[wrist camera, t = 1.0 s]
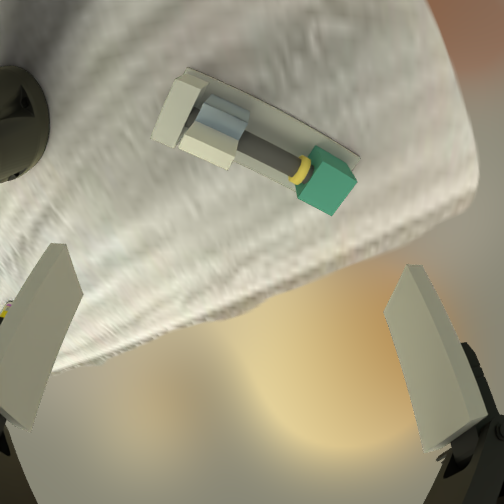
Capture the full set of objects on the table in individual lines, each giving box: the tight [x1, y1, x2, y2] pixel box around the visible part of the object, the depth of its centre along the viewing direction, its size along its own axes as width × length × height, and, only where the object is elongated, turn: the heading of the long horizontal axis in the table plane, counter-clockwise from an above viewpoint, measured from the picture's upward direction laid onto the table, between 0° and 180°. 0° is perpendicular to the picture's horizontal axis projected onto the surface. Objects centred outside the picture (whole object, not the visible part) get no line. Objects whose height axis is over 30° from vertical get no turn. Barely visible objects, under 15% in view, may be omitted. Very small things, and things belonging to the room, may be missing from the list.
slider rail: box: [150, 67, 361, 216], centre depth 29 cm, size 20×7×5 cm, turn 62°
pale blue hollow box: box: [179, 94, 250, 171], centre depth 26 cm, size 4×5×9 cm
